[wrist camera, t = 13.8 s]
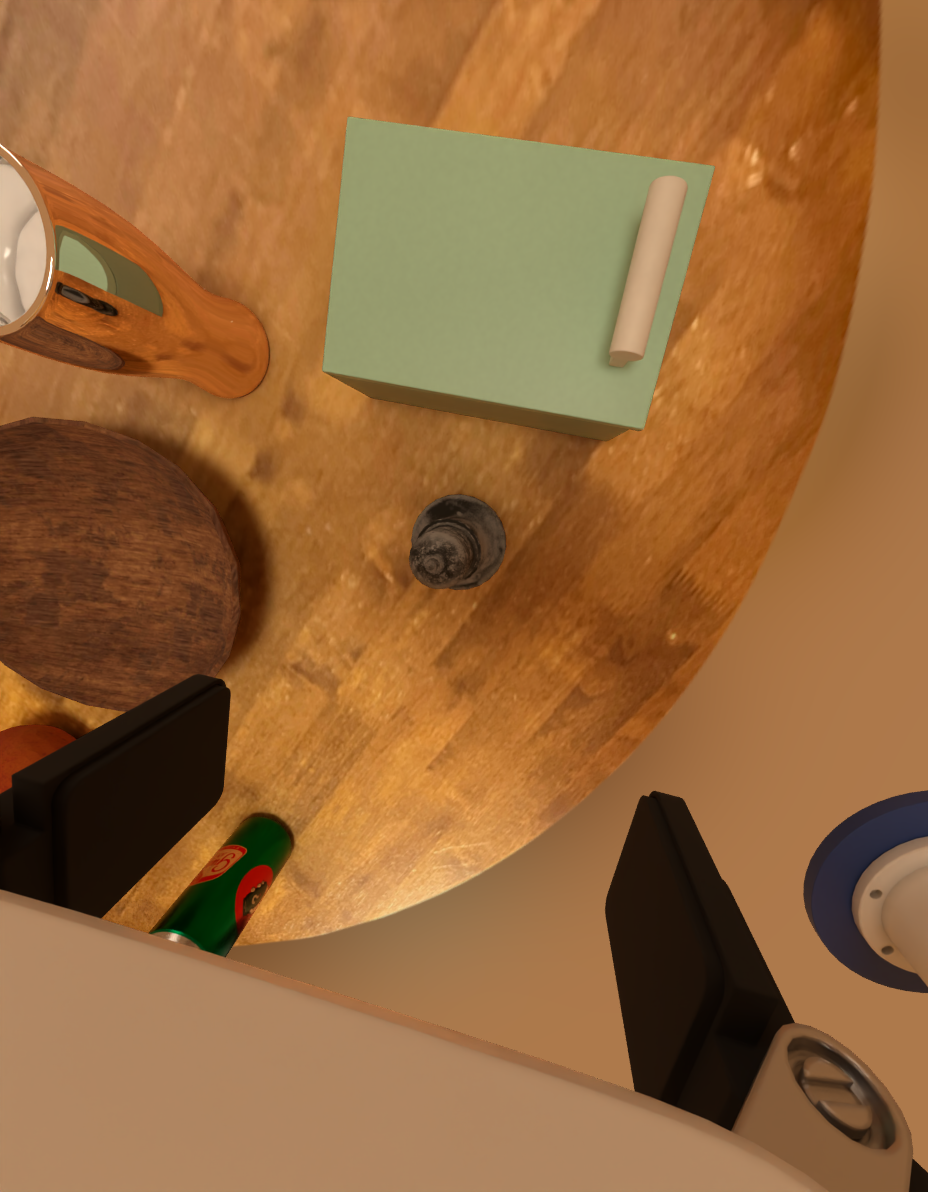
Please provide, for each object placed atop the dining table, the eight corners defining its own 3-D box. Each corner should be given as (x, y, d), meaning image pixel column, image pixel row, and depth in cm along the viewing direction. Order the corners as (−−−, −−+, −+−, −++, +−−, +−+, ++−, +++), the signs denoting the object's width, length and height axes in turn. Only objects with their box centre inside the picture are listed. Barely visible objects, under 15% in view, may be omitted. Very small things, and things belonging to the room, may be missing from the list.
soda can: (267, 802, 40) (160, 933, 28) (306, 845, 40) (217, 991, 29) (228, 829, 41) (110, 966, 29) (266, 871, 41) (166, 1021, 30)
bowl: (265, 711, 38) (226, 745, 33) (18, 646, 39) (-53, 669, 34) (291, 462, 33) (250, 458, 28) (8, 399, 34) (-77, 386, 29)
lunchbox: (655, 250, 27) (696, 176, 20) (607, 441, 30) (629, 429, 23) (394, 211, 28) (353, 129, 22) (370, 397, 31) (328, 374, 24)
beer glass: (252, 425, 32) (29, 378, 18) (165, 372, 32) (-129, 282, 18) (292, 326, 30) (81, 184, 16) (200, 270, 30) (-96, 77, 16)
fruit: (51, 689, 40) (-63, 738, 32) (131, 759, 41) (38, 825, 33) (5, 750, 42) (-112, 810, 34) (81, 816, 43) (-17, 890, 35)
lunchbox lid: (708, 177, 20) (751, 105, 16) (640, 431, 23) (662, 421, 19) (353, 128, 22) (316, 51, 18) (328, 374, 24) (290, 354, 20)
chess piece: (477, 594, 33) (450, 655, 21) (407, 548, 33) (343, 583, 21) (525, 525, 31) (524, 549, 20) (452, 475, 31) (409, 471, 20)
